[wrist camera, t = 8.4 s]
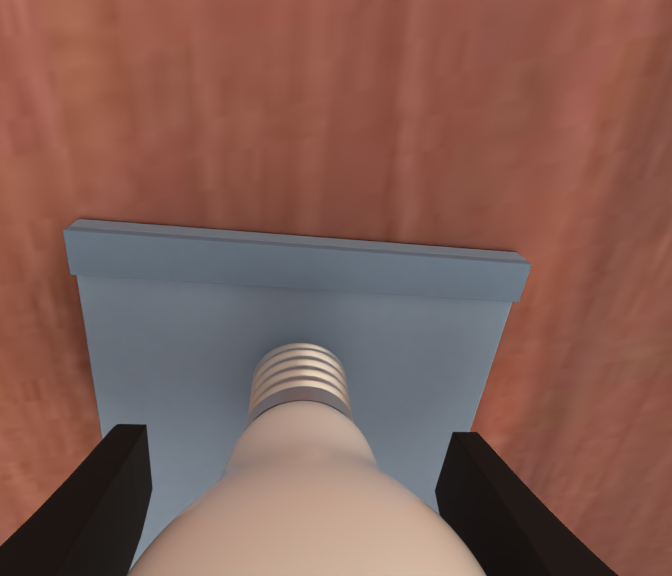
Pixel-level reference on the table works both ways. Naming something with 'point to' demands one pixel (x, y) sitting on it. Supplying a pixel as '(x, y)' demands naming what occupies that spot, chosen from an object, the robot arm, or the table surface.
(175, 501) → the blue lipped board
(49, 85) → the table surface
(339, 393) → the lightbulb
